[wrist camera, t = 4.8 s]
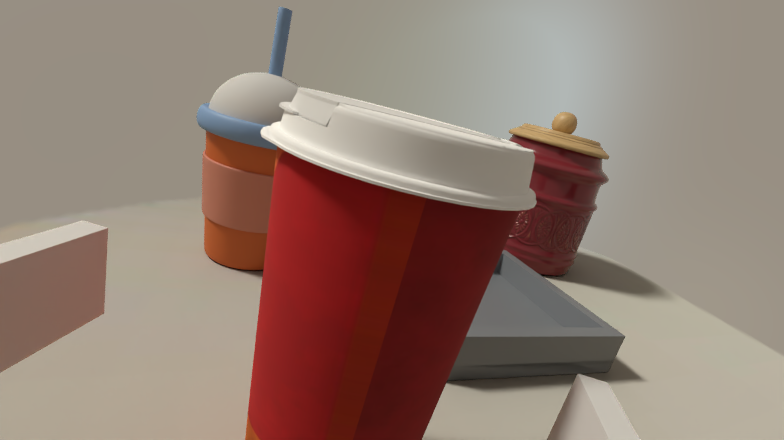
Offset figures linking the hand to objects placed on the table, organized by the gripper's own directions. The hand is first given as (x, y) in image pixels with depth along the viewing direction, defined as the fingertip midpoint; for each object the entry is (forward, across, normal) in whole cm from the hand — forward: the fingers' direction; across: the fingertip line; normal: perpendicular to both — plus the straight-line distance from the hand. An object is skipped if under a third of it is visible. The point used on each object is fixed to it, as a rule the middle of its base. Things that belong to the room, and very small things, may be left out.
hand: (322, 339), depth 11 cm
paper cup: (+2, +1, -8) cm, 8 cm away
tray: (+20, +8, -8) cm, 23 cm away
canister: (+40, +14, -8) cm, 43 cm away
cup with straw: (+19, -11, -8) cm, 23 cm away
